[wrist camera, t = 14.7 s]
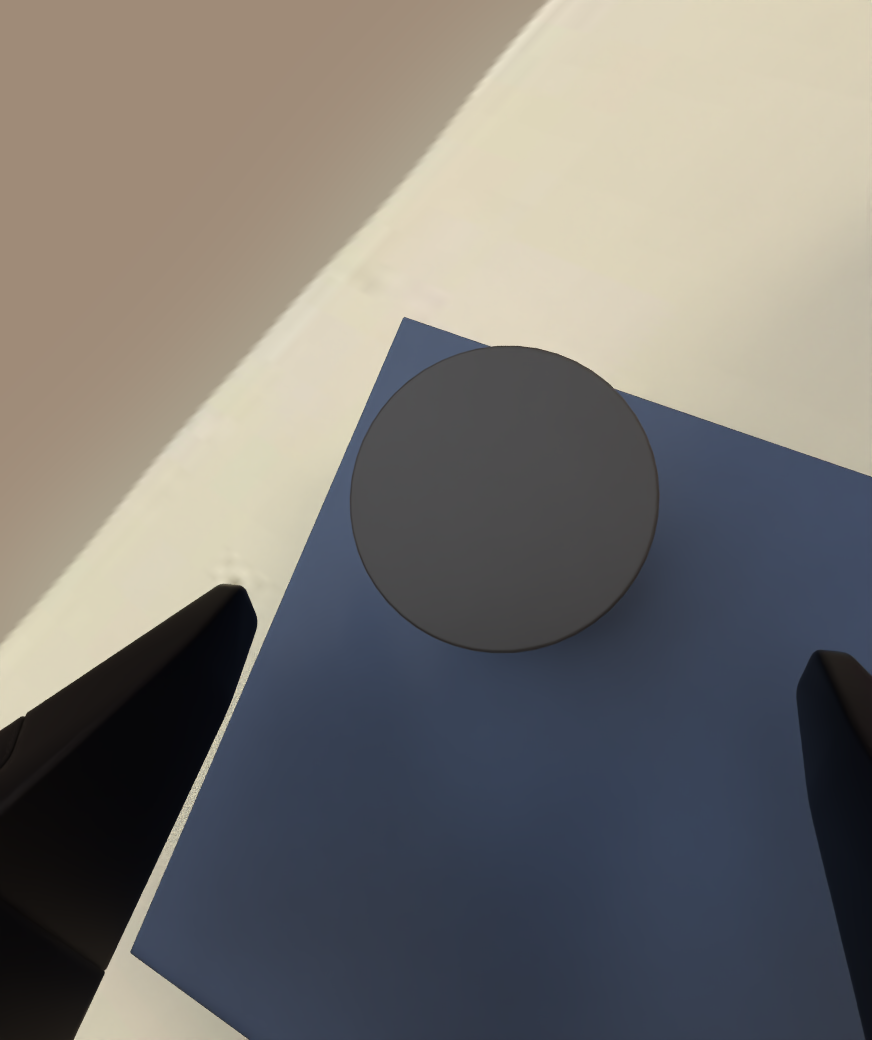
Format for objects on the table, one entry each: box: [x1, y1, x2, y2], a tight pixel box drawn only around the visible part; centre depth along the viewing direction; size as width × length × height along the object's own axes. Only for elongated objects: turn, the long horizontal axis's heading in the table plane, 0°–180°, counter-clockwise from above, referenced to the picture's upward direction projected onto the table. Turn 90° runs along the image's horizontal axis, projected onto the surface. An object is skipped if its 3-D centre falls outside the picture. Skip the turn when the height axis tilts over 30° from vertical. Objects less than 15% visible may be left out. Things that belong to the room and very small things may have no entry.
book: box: [131, 317, 872, 1040], centre depth 13 cm, size 16×20×4 cm
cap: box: [350, 346, 660, 653], centre depth 10 cm, size 4×4×5 cm
